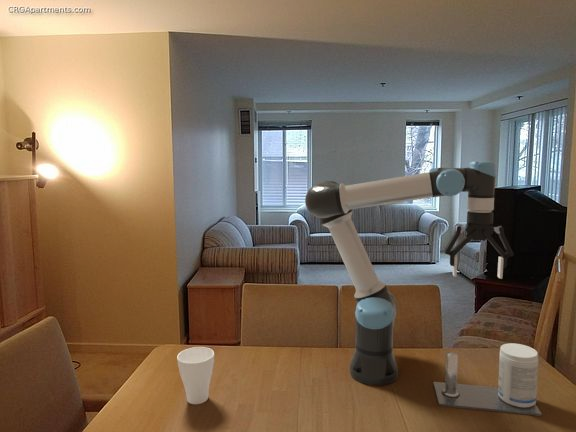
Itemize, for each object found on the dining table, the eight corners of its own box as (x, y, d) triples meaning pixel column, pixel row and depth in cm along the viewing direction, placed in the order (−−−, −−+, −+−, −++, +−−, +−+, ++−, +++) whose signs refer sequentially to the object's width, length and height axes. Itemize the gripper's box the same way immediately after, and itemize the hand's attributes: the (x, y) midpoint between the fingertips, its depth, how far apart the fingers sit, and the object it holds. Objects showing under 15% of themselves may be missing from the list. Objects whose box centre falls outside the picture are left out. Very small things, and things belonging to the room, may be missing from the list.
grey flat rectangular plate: (439, 405, 118) (439, 403, 118) (433, 383, 130) (433, 381, 130) (541, 415, 113) (541, 413, 113) (525, 391, 124) (526, 389, 124)
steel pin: (443, 396, 121) (445, 357, 120) (441, 388, 126) (442, 350, 124) (460, 398, 120) (461, 358, 119) (457, 390, 125) (458, 351, 123)
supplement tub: (542, 401, 118) (546, 352, 116) (524, 413, 113) (528, 361, 111) (508, 386, 126) (511, 339, 124) (490, 396, 121) (493, 348, 119)
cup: (222, 392, 126) (220, 349, 124) (204, 412, 116) (202, 365, 114) (191, 386, 129) (189, 344, 128) (171, 405, 120) (169, 360, 118)
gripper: (519, 210, 134) (515, 275, 137) (436, 208, 139) (434, 271, 142) (527, 212, 127) (523, 281, 129) (440, 211, 132) (437, 278, 134)
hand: (476, 276), depth 136 cm, fingers open, 13 cm apart
